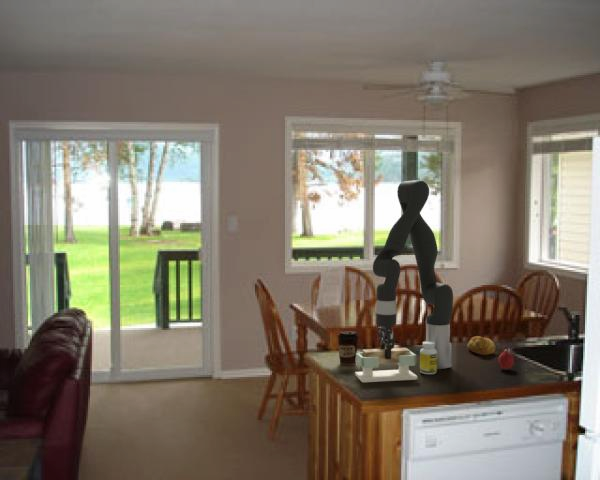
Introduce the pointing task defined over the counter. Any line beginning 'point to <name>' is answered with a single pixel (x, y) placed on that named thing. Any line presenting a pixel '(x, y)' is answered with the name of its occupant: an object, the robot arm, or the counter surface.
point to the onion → (506, 360)
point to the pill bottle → (428, 358)
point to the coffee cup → (347, 347)
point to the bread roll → (481, 345)
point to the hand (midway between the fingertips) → (385, 357)
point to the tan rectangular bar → (381, 354)
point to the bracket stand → (385, 375)
